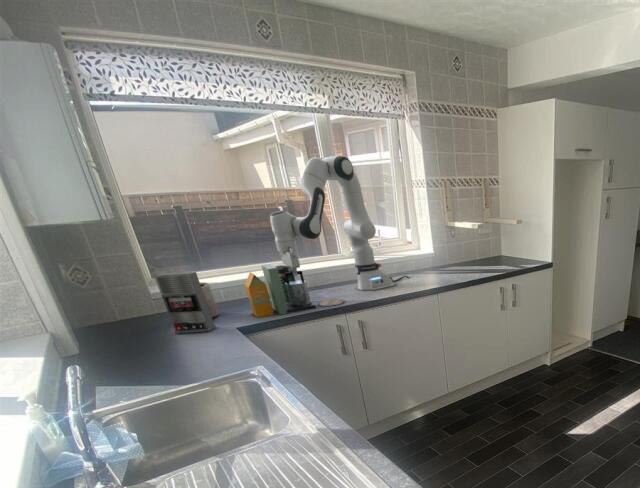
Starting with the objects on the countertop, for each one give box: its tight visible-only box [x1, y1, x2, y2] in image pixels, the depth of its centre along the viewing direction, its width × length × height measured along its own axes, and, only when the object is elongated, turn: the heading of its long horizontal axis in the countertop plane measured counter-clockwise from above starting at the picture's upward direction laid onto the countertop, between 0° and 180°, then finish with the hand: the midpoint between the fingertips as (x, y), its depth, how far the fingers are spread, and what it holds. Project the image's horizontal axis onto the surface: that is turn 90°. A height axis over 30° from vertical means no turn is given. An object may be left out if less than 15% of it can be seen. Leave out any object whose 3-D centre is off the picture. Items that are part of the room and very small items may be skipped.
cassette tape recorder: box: [153, 271, 216, 335], centre depth 181 cm, size 14×6×25 cm, turn 99°
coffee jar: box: [275, 264, 296, 302], centre depth 230 cm, size 10×8×19 cm
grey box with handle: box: [284, 270, 312, 306], centre depth 214 cm, size 10×12×16 cm
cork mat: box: [319, 299, 344, 307], centre depth 224 cm, size 12×12×1 cm
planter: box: [200, 282, 220, 320], centre depth 201 cm, size 18×18×16 cm
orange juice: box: [244, 272, 275, 318], centre depth 205 cm, size 8×9×20 cm
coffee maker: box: [261, 263, 317, 315], centre depth 213 cm, size 18×15×22 cm
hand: (293, 275), depth 212 cm, fingers open, 4 cm apart
